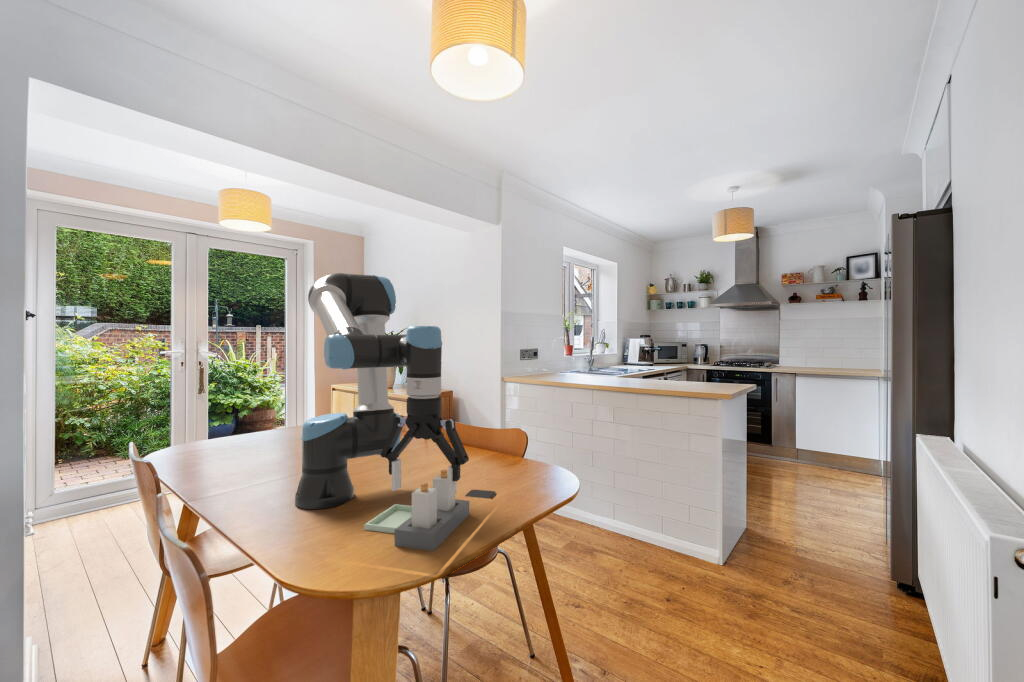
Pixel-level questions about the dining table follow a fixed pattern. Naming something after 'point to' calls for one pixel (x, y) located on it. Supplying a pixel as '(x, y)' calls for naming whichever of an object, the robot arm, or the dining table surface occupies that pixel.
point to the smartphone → (481, 494)
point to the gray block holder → (447, 520)
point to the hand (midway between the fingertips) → (423, 492)
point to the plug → (424, 507)
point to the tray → (390, 519)
